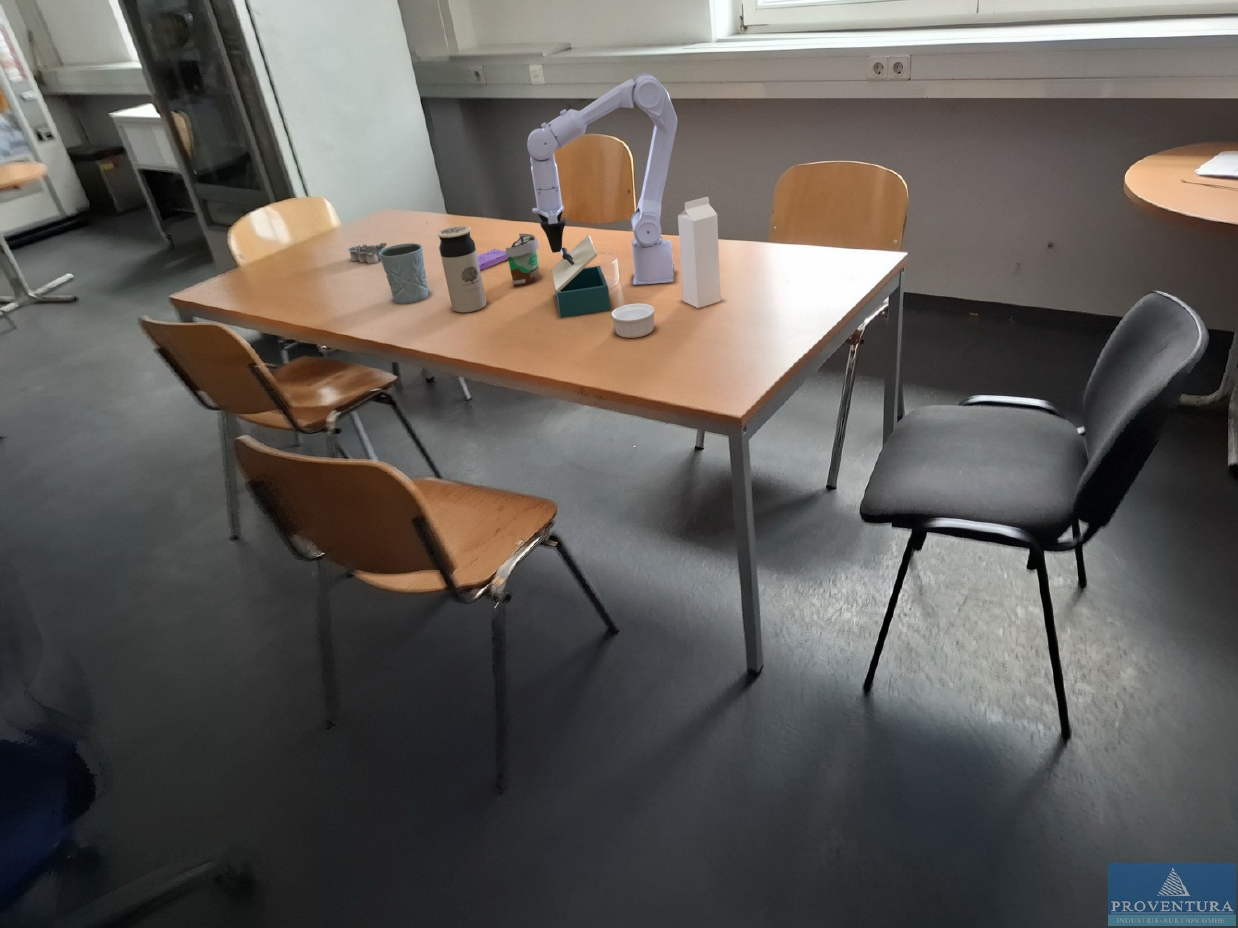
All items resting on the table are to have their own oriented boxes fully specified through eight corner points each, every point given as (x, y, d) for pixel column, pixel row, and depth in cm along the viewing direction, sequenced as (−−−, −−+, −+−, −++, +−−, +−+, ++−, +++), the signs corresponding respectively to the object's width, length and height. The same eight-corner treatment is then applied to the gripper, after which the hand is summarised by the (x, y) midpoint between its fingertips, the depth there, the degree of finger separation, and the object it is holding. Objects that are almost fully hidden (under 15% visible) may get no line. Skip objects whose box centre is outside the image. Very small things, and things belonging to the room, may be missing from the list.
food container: (536, 288, 198) (529, 247, 193) (512, 289, 199) (505, 248, 194) (549, 271, 208) (543, 231, 203) (526, 271, 210) (519, 233, 204)
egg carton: (391, 257, 234) (388, 243, 232) (370, 265, 229) (366, 251, 227) (369, 252, 240) (365, 238, 238) (347, 260, 235) (343, 246, 233)
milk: (720, 301, 178) (717, 199, 167) (697, 309, 176) (693, 205, 164) (704, 294, 183) (700, 194, 171) (682, 301, 181) (676, 200, 169)
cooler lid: (590, 236, 186) (578, 224, 185) (597, 255, 174) (585, 242, 172) (553, 271, 189) (541, 260, 188) (558, 292, 177) (545, 280, 175)
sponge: (512, 258, 220) (511, 251, 219) (475, 273, 213) (474, 265, 212) (496, 255, 225) (494, 248, 224) (459, 268, 218) (457, 261, 217)
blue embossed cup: (383, 304, 200) (370, 256, 194) (405, 289, 208) (394, 242, 202) (418, 305, 196) (406, 256, 190) (440, 290, 204) (429, 242, 198)
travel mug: (449, 306, 194) (432, 230, 184) (481, 298, 196) (466, 223, 187) (457, 316, 187) (440, 238, 178) (490, 308, 190) (475, 230, 180)
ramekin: (623, 343, 164) (621, 323, 162) (606, 329, 172) (604, 310, 169) (663, 332, 167) (661, 312, 165) (644, 319, 174) (643, 299, 172)
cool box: (602, 288, 193) (600, 265, 190) (610, 310, 181) (607, 286, 178) (556, 295, 192) (552, 272, 189) (560, 317, 180) (557, 293, 177)
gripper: (527, 182, 188) (537, 240, 196) (530, 197, 176) (540, 258, 183) (558, 178, 189) (566, 236, 196) (563, 192, 177) (571, 254, 184)
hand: (555, 247), depth 190 cm, fingers open, 7 cm apart
